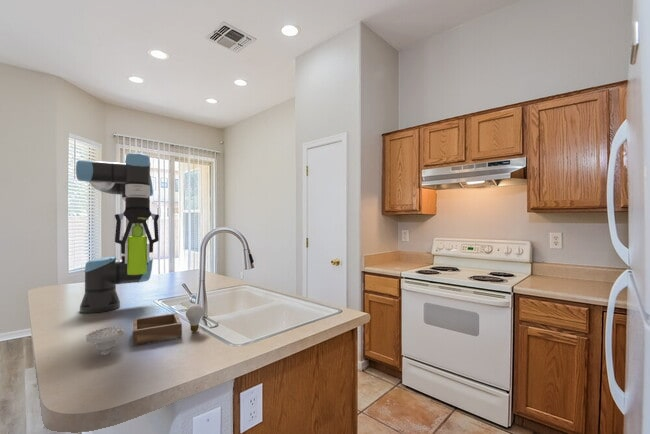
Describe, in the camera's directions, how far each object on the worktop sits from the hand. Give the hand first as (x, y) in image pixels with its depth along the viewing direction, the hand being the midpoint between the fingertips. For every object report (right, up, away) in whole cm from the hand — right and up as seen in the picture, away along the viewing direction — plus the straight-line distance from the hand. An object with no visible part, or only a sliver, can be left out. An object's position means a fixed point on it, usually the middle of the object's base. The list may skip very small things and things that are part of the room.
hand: (137, 262), depth 111 cm
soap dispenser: (0, -4, 0) cm, 4 cm away
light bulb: (+19, -26, +3) cm, 32 cm away
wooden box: (+7, -26, 0) cm, 27 cm away
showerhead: (0, -26, -15) cm, 30 cm away
